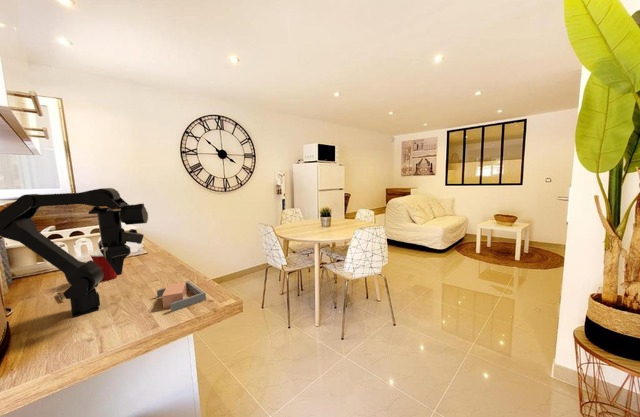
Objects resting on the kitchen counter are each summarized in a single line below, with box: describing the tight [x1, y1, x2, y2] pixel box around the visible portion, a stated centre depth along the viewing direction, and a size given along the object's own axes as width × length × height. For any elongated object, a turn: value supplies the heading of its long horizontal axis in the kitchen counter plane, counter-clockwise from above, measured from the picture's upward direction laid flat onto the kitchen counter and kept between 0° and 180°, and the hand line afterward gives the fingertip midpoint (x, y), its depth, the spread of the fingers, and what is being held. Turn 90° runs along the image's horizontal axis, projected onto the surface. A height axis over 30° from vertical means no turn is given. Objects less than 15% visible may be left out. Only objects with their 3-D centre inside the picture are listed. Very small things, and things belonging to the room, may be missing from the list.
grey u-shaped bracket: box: [156, 280, 207, 313], centre depth 92 cm, size 11×16×2 cm
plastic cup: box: [89, 250, 118, 282], centre depth 111 cm, size 11×11×12 cm
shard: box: [56, 287, 69, 303], centre depth 95 cm, size 11×8×2 cm
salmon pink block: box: [161, 281, 188, 309], centre depth 90 cm, size 6×10×4 cm, turn 22°
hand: (117, 271), depth 86 cm, fingers open, 9 cm apart
